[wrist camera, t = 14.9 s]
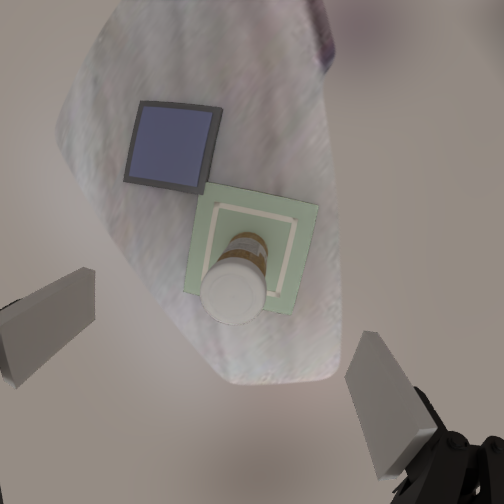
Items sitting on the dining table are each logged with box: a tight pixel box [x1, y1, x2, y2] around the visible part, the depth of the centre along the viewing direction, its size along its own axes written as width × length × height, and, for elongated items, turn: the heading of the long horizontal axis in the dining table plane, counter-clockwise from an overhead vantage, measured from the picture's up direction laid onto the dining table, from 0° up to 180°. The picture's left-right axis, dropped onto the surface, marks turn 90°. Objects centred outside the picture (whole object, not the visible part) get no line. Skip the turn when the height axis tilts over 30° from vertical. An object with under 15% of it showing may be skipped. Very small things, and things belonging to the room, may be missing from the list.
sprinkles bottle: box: [200, 232, 268, 325], centre depth 26 cm, size 5×5×14 cm
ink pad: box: [123, 101, 223, 195], centre depth 30 cm, size 10×10×1 cm
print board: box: [183, 182, 319, 315], centre depth 33 cm, size 13×13×1 cm
